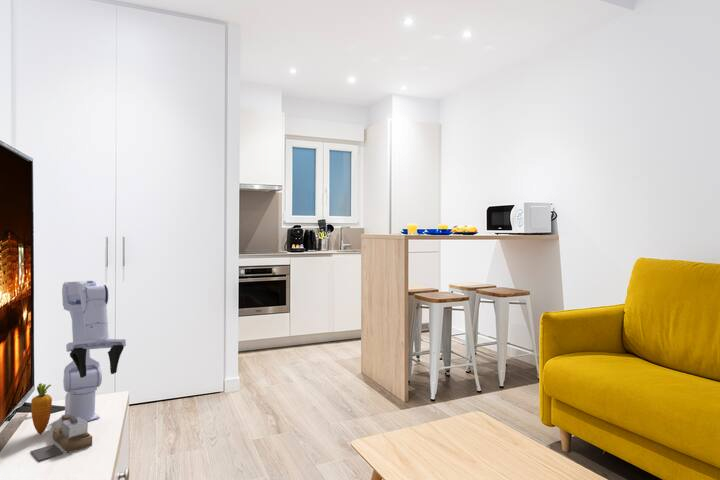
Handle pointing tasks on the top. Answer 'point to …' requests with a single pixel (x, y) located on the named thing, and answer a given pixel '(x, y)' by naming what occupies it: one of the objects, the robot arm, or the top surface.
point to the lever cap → (74, 427)
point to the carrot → (41, 409)
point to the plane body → (73, 442)
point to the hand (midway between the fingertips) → (98, 375)
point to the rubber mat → (46, 452)
